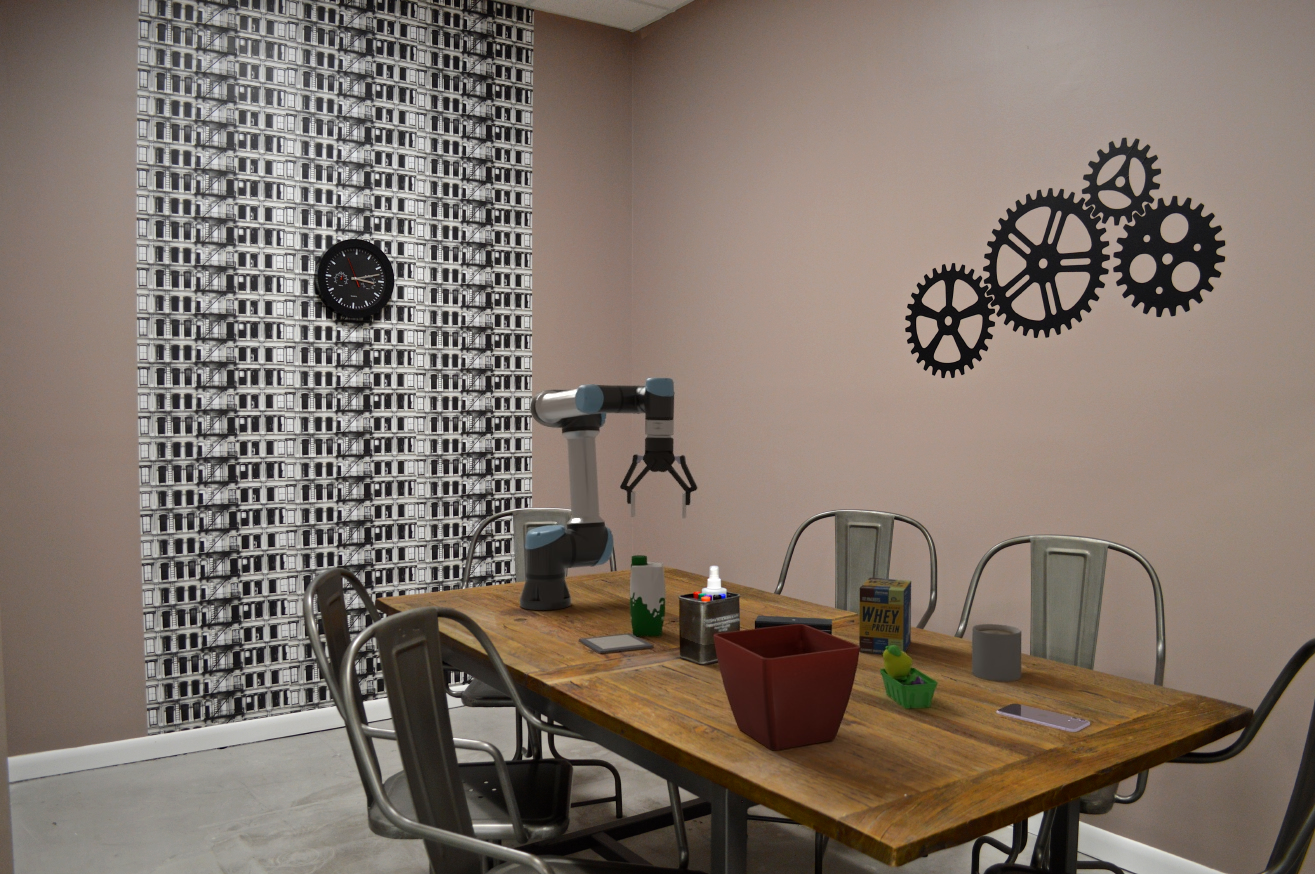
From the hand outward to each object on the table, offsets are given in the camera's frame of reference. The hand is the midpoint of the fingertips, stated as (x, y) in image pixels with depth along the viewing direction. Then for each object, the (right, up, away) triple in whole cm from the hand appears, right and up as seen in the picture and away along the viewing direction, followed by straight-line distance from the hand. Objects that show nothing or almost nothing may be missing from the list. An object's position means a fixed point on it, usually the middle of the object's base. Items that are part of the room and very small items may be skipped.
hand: (658, 517), depth 243 cm
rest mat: (-11, -30, -17) cm, 36 cm away
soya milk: (-3, -30, -5) cm, 30 cm away
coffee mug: (+74, -31, -43) cm, 91 cm away
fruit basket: (+48, -31, -63) cm, 85 cm away
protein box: (+55, -30, -19) cm, 66 cm away
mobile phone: (+71, -31, -73) cm, 106 cm away
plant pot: (+22, -31, -82) cm, 90 cm away
